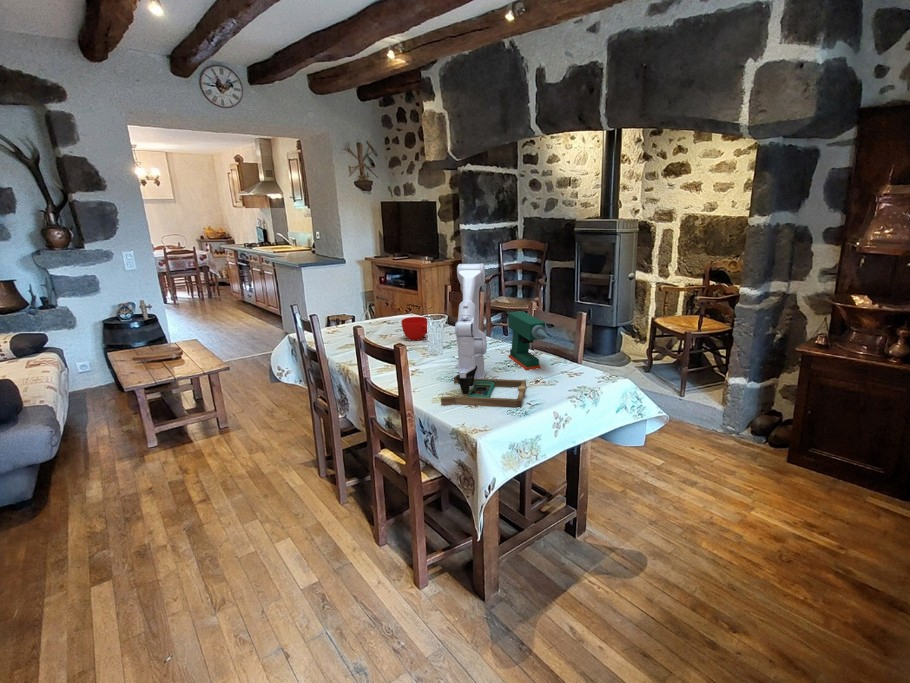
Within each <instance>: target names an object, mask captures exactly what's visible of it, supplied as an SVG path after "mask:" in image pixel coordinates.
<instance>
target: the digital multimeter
mask: <svg viewBox="0 0 910 683" xmlns="http://www.w3.org/2000/svg"><path fill="white" fill-rule="evenodd" d="M494 389H495V387H494V382H490V381H476V382H475V383H474V386H472V388H471V389H470V391H469V394H468V395H467V397H487V398H491V395H492V393H493V391H494Z"/></svg>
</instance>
